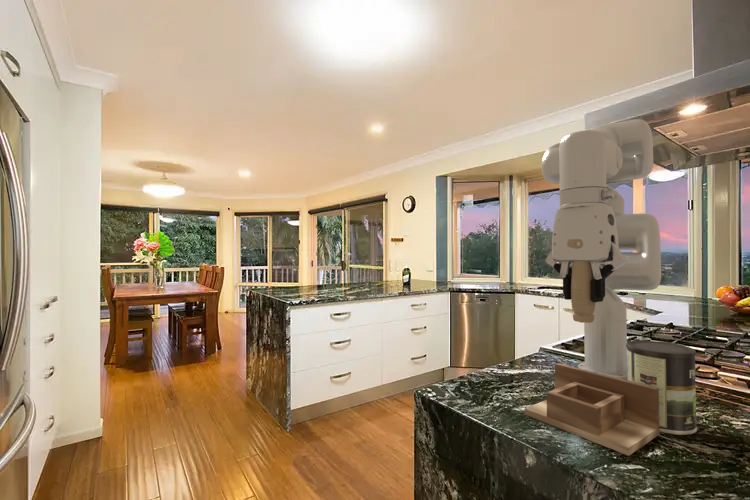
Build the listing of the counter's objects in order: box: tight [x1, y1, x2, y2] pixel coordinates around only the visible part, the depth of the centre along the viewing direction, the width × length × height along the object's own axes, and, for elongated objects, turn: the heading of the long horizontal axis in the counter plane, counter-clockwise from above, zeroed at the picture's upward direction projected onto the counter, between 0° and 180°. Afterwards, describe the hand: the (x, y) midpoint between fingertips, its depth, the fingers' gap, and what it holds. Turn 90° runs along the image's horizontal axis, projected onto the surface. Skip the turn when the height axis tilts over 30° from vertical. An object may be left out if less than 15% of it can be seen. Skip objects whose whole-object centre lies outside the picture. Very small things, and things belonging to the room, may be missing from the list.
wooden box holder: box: [524, 362, 660, 457], centre depth 68 cm, size 12×18×8 cm, turn 34°
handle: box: [567, 239, 596, 324], centre depth 67 cm, size 5×6×15 cm
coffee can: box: [626, 339, 698, 436], centre depth 69 cm, size 10×10×14 cm
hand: (583, 299), depth 67 cm, fingers closed on handle, 4 cm apart
